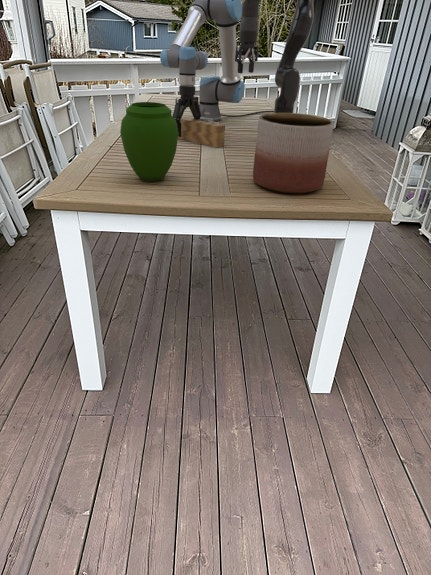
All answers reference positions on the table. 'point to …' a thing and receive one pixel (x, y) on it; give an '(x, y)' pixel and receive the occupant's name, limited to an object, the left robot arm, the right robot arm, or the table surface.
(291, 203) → the table surface
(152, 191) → the table surface
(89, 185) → the table surface
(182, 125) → the bar
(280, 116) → the planter
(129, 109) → the vase
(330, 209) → the table surface
